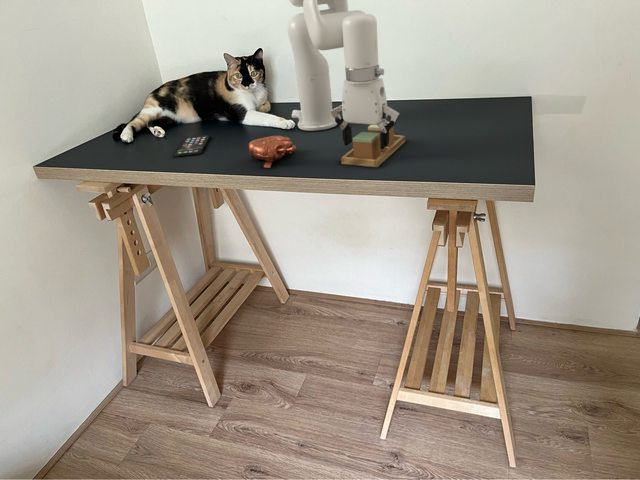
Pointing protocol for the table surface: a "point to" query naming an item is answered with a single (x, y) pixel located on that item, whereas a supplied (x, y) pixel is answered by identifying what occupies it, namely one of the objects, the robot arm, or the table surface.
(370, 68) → the robot arm
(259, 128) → the table surface
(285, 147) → the heart
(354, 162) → the wooden divided tray
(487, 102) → the table surface
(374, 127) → the pad cream
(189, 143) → the smartphone
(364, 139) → the pad sage
